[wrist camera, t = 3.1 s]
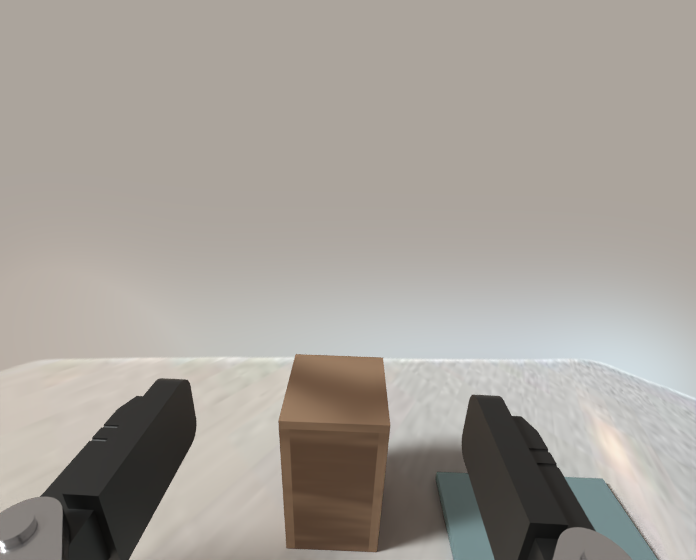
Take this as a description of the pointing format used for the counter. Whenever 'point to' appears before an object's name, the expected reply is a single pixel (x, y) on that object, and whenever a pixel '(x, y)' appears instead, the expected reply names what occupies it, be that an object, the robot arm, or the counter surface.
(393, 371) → the counter surface
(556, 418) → the counter surface
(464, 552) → the teal mat
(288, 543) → the walnut cover
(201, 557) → the counter surface
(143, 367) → the counter surface
